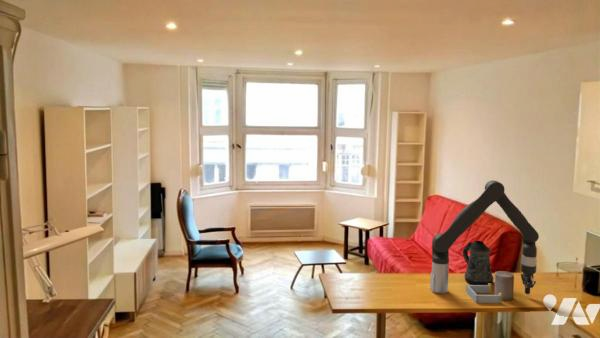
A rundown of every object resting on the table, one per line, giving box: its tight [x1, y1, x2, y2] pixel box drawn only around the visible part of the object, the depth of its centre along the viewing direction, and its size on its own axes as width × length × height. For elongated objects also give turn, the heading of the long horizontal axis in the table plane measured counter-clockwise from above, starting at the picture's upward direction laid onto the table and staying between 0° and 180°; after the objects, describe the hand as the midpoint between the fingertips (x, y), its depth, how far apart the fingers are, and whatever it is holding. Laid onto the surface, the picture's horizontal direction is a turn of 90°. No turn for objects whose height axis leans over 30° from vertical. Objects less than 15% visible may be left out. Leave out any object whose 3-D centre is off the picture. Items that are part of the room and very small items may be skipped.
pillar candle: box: [493, 270, 515, 302], centre depth 247 cm, size 10×10×15 cm
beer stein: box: [462, 240, 494, 286], centre depth 271 cm, size 16×19×25 cm
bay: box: [465, 283, 502, 304], centre depth 248 cm, size 14×15×5 cm
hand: (527, 293), depth 247 cm, fingers closed
